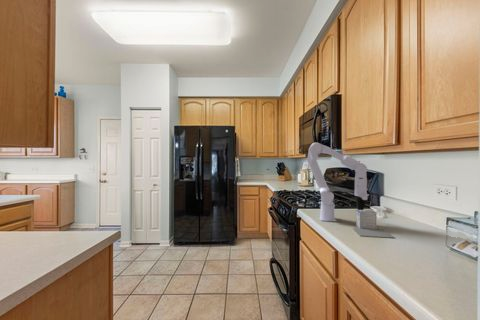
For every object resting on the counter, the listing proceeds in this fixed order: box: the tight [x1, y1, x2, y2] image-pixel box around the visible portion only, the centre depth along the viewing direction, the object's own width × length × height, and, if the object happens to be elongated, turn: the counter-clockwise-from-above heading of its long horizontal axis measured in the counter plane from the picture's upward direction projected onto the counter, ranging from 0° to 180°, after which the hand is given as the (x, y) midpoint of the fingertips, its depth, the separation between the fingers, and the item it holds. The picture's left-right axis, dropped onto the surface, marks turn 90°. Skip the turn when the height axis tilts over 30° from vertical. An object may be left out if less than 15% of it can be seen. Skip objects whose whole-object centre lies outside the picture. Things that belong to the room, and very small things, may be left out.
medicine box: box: [355, 209, 377, 229], centre depth 116 cm, size 8×4×9 cm, turn 84°
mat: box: [352, 227, 396, 239], centre depth 108 cm, size 11×14×1 cm
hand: (360, 211), depth 125 cm, fingers closed
